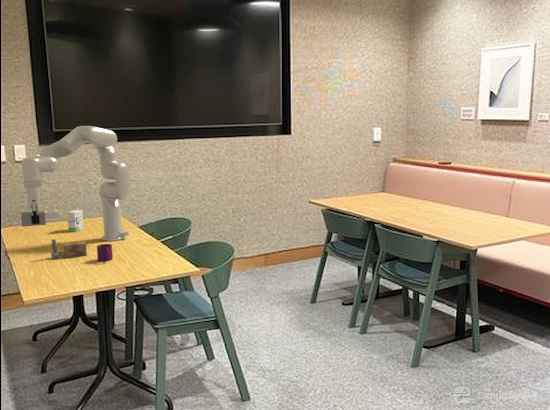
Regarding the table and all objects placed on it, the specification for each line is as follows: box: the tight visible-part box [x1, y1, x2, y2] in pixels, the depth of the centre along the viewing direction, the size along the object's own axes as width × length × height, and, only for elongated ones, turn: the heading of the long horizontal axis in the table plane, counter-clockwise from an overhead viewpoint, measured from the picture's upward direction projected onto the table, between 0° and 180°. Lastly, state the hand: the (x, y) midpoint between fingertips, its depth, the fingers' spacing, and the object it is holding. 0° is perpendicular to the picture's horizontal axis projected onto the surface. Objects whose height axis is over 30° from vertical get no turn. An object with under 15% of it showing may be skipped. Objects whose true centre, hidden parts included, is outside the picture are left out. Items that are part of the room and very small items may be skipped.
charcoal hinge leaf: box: [20, 209, 59, 227], centre depth 246 cm, size 16×6×6 cm, turn 113°
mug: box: [96, 243, 114, 262], centre depth 245 cm, size 7×10×7 cm
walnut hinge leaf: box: [50, 238, 87, 260], centre depth 252 cm, size 16×4×9 cm, turn 113°
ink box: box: [67, 209, 84, 233], centre depth 310 cm, size 9×5×12 cm, turn 168°
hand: (35, 222), depth 246 cm, fingers closed on charcoal hinge leaf, 4 cm apart
